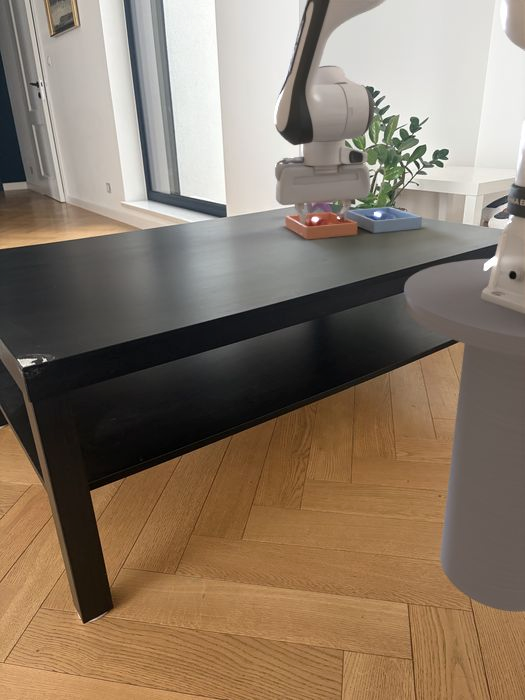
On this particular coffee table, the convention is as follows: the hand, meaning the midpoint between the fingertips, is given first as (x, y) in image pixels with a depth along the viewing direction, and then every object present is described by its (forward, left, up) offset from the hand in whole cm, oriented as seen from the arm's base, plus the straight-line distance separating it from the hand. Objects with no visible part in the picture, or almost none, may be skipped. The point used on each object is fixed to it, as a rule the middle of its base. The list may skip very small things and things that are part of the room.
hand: (323, 223), depth 119 cm
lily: (+18, -5, -2) cm, 19 cm away
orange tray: (+2, 0, -2) cm, 3 cm away
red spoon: (+2, 0, -1) cm, 3 cm away
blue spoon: (+2, -15, -2) cm, 15 cm away
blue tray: (+2, -15, -2) cm, 15 cm away
